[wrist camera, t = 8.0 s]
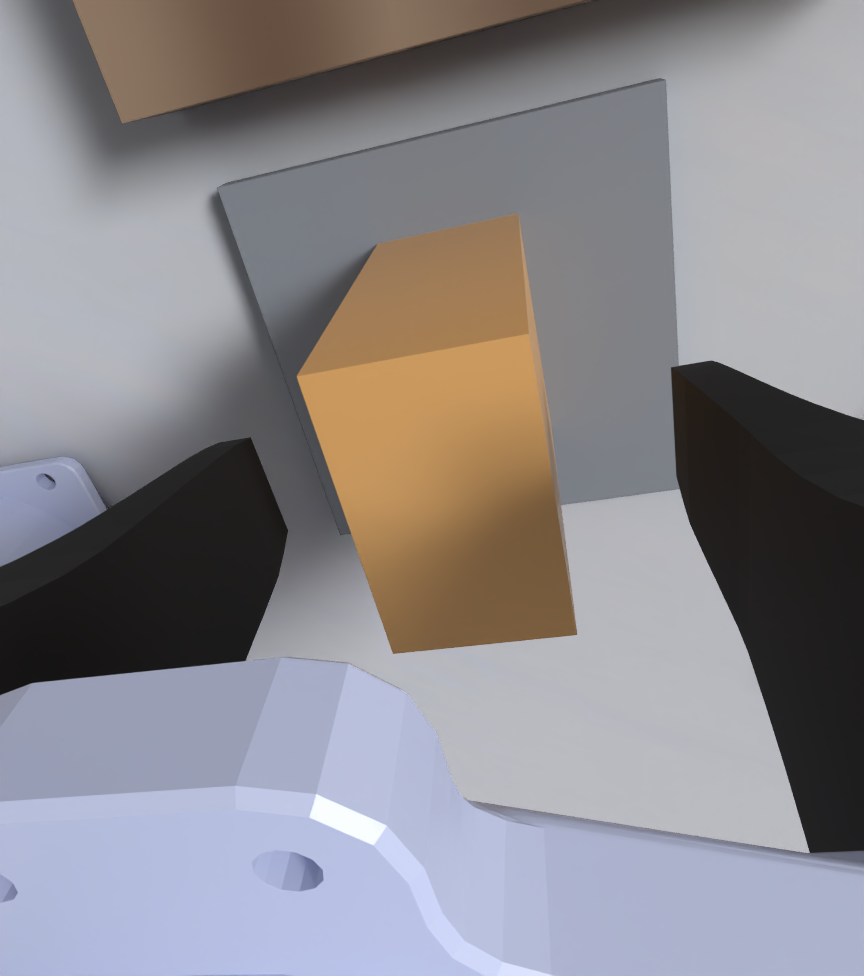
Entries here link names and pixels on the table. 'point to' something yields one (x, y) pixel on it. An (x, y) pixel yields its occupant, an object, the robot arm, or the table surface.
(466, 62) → the table surface
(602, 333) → the mat
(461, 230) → the plug
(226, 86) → the wooden block holder
